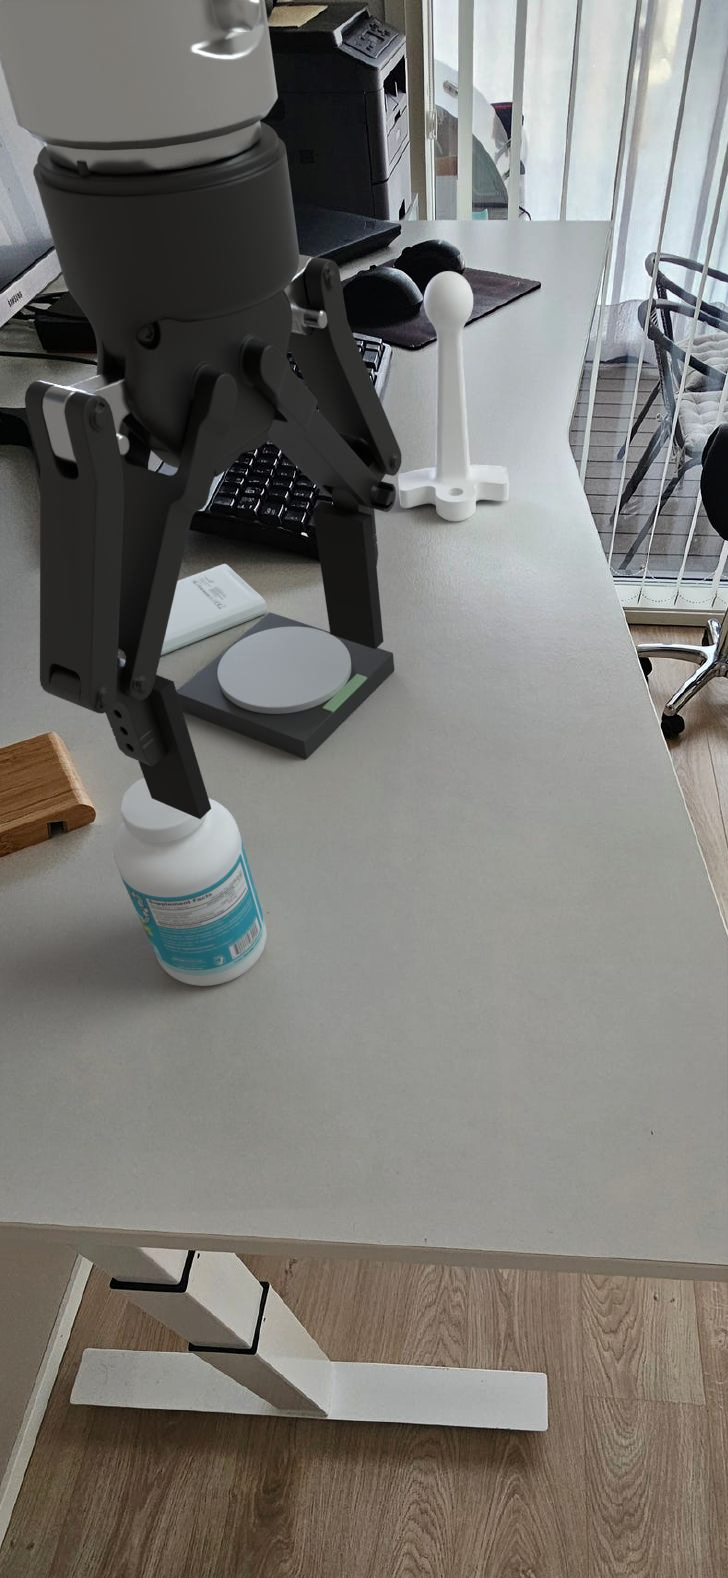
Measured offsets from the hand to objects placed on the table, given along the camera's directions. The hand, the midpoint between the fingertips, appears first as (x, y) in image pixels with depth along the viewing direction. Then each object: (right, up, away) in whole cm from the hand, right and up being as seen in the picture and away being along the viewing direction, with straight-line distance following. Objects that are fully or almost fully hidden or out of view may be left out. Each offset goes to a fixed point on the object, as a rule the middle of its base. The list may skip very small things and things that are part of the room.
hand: (276, 715), depth 46 cm
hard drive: (-16, +20, +44) cm, 51 cm away
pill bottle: (-8, -11, +20) cm, 24 cm away
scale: (-5, +11, +37) cm, 39 cm away
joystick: (+9, +35, +55) cm, 66 cm away
